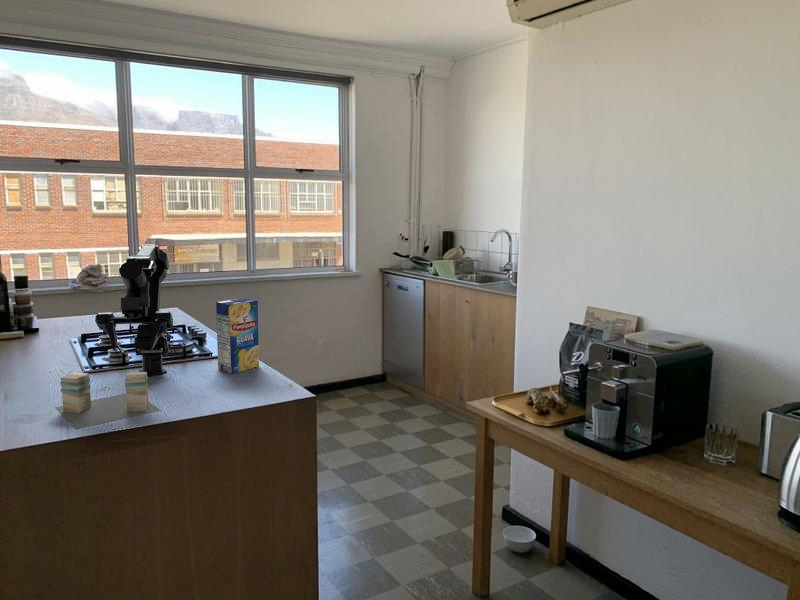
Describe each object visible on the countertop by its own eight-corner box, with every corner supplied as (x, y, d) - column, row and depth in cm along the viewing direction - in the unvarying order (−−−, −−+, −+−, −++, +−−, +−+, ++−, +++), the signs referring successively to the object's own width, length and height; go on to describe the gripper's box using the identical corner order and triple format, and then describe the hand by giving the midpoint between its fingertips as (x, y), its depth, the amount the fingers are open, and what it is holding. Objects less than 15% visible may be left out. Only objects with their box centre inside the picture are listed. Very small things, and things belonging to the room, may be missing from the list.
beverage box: (217, 369, 193) (215, 302, 189) (246, 362, 201) (244, 297, 198) (231, 374, 189) (229, 304, 185) (259, 366, 197) (257, 300, 193)
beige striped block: (75, 405, 158) (73, 372, 156) (91, 406, 157) (89, 373, 155) (62, 411, 153) (60, 377, 152) (79, 413, 152) (76, 378, 151)
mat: (55, 408, 156) (54, 407, 156) (134, 392, 169) (134, 391, 169) (76, 430, 142) (75, 429, 142) (160, 411, 156) (160, 410, 156)
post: (129, 406, 158) (127, 373, 157) (148, 404, 159) (147, 371, 158) (126, 412, 154) (124, 378, 152) (146, 410, 155) (144, 377, 153)
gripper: (93, 283, 157) (86, 338, 150) (169, 282, 161) (166, 336, 155) (103, 302, 167) (97, 355, 160) (174, 301, 171) (172, 352, 164)
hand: (133, 349), depth 160 cm, fingers open, 9 cm apart
